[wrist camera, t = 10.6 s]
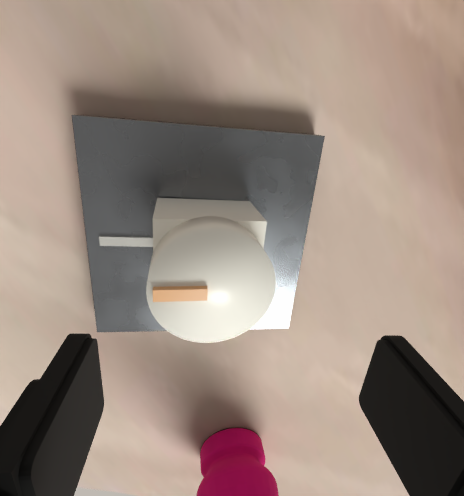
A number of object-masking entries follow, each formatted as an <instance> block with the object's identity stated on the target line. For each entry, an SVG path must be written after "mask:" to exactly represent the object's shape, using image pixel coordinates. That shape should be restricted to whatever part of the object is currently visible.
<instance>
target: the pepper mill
mask: <svg viewBox="0 0 464 496" xmlns="http://www.w3.org/2000/svg"><path fill="white" fill-rule="evenodd" d="M200 458H201V473H202V475H203V476H204V478H203V480H202V482H201V484H200V486H199V488H198V491H197V496H279V495H278V489H277V483H276V481H275V478H274V477H273V475H272V473H271V472H270V471H269V470H268V469H267V468H266V467H264V464H265V455H264V450H263V446H262V442H261V439H260V438H259V436H258V435H257V434H256V433H254V432H253V431H251V430H248V429H244V428H230V429H226V430H222V431H219V432H217V433H215V434H213V435H212V436H210V437H209V438H208V439H207V440H206V441H205V442H204V444H203V446H202V448H201V452H200Z"/></svg>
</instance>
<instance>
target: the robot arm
mask: <svg viewBox="0 0 464 496" xmlns="http://www.w3.org/2000/svg"><path fill="white" fill-rule="evenodd" d="M359 403H360V406H361V408H362V410H363V412H364V414H365V416H366V417H367V419H368V421H369V423H370V425H371V427H372V428H373V430H374V432H375V434H376V436H377V437H378V439H379V441H380V443H381V445H382V446H383V448H384V450H385V452H386V454H387V456H388V457H389V459H390V461H391V463H392V465H393V466H394V468H395V470H396V472H397V474H398V475H399V477H400V479H401V481H402V483H403V484H404V486H405V488H406V490H407V492H408V494H409V495H410V496H464V401H463V400H462V399H461V398H460V397H459V396H458V395H457V394H456V393H455V392H454V391H453V390H452V389H451V387H450V386H449V385H448V384H447V383H446V382H445V381H444V380H443V379H442V378H441V377H440V376H439V375H438V373H437V372H436V371H435V370H434V369H433V368H432V367H431V366H430V365H429V364H428V363H427V362H426V361H425V360H424V358H423V357H422V356H421V355H420V354H419V353H418V352H417V351H416V350H415V349H414V348H413V347H412V346H411V344H410V343H409V342H408V341H407V340H406V339H405V338H404V337H402V336H383V337H382V338H381V340H378V341H377V343H376V346H375V349H374V353H373V356H372V359H371V362H370V365H369V368H368V371H367V374H366V377H365V380H364V383H363V386H362V389H361V392H360V395H359ZM103 407H104V397H103V388H102V379H101V370H100V362H99V353H98V344H97V340H96V339H92V338H91V335H90V334H69V335H68V336H67V337H66V339H65V341H64V342H63V344H62V345H61V347H60V349H59V350H58V352H57V353H56V355H55V356H54V358H53V360H52V361H51V363H50V364H49V366H48V368H47V369H46V371H45V372H44V374H43V375H42V377H41V379H37V380H33V381H31V382H30V383H29V385H28V386H27V387H26V388H25V390H24V391H23V393H22V394H21V396H20V397H19V399H18V400H17V402H16V403H15V405H14V406H13V408H12V409H11V411H10V413H9V414H8V416H7V417H6V419H5V420H4V422H3V423H2V425H1V426H0V496H74V493H75V491H76V488H77V485H78V482H79V479H80V476H81V473H82V470H83V467H84V465H85V462H86V459H87V456H88V453H89V450H90V447H91V444H92V441H93V438H94V436H95V433H96V430H97V427H98V424H99V421H100V418H101V415H102V412H103Z"/></svg>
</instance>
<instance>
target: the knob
mask: <svg viewBox="0 0 464 496" xmlns="http://www.w3.org/2000/svg"><path fill="white" fill-rule="evenodd" d="M266 226H267V221H266V220H265V218H264V217H263V216H262V215H261V214H260V213H259V211H258V210H257V209H256V208H255V207H254V206H253V205H252V203H251V202H250V201H233V200H205V199H177V198H157V201H156V206H155V210H154V214H153V255H152V258H151V263H150V268H149V274H148V280H147V287H146V295H147V302H148V305H149V308H150V310H151V313H152V315H153V316H154V318H155V319H156V321H157V322H158V323H159V324H160V325H161V326H162V327H163V328H164V329H165V330H167V331H168V332H170V333H171V334H173V335H175V336H177V337H179V338H182V339H184V340H188V341H192V342H199V343H213V342H220V341H225V340H228V339H231V338H234V337H236V336H239V335H241V334H243V333H244V332H246V331H248V330H249V329H250V328H252V327H253V326H254V325H255V324H256V323H258V322H259V321H260V319H261V318H262V317H263V316H264V315H265V313H266V312H267V310H268V309H269V307H270V305H271V303H272V300H273V297H274V293H275V287H276V278H275V272H274V268H273V265H272V263H271V261H270V259H269V257H268V255H267V254H266V252H265V251H264V241H265V234H266Z"/></svg>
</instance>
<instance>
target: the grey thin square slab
mask: <svg viewBox="0 0 464 496" xmlns="http://www.w3.org/2000/svg"><path fill="white" fill-rule="evenodd" d="M72 121H73V130H74V138H75V147H76V155H77V164H78V172H79V181H80V189H81V198H82V206H83V215H84V223H85V232H86V241H87V249H88V258H89V266H90V275H91V283H92V292H93V300H94V309H95V317H96V326H97V332H134V331H167V330H165V329H164V328H163V327H162V326H161V325H160V324H159V323H158V322H157V321H156V319H155V318H154V316H153V315H152V313H151V310H150V308H149V305H148V302H147V295H146V287H147V280H148V274H149V268H150V263H151V258H152V255H153V214H154V210H155V206H156V201H157V198H177V199H205V200H233V201H250V202H251V203H252V205H253V206H254V207H255V208H256V209H257V210H258V211H259V213H260V214H261V215H262V216H263V217H264V218H265V220H266V221H267V226H266V234H265V241H264V251H265V252H266V254H267V255H268V257H269V259H270V261H271V263H272V265H273V268H274V272H275V278H276V287H275V293H274V297H273V300H272V303H271V305H270V307H269V309H268V310H267V312H266V313H265V315H264V316H263V317H262V318H261V319H260V321H259V322H258V323H256V324H255V325H254V326H253V327H252V328H250V329H286V328H289V323H290V318H291V312H292V307H293V302H294V296H295V291H296V286H297V280H298V275H299V270H300V265H301V259H302V254H303V249H304V243H305V238H306V233H307V227H308V222H309V217H310V211H311V206H312V201H313V195H314V190H315V185H316V179H317V174H318V169H319V163H320V158H321V153H322V147H323V142H324V137H325V136H321V135H313V134H301V133H289V132H277V131H265V130H253V129H241V128H229V127H217V126H205V125H193V124H181V123H169V122H157V121H145V120H133V119H121V118H109V117H97V116H85V115H72Z"/></svg>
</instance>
